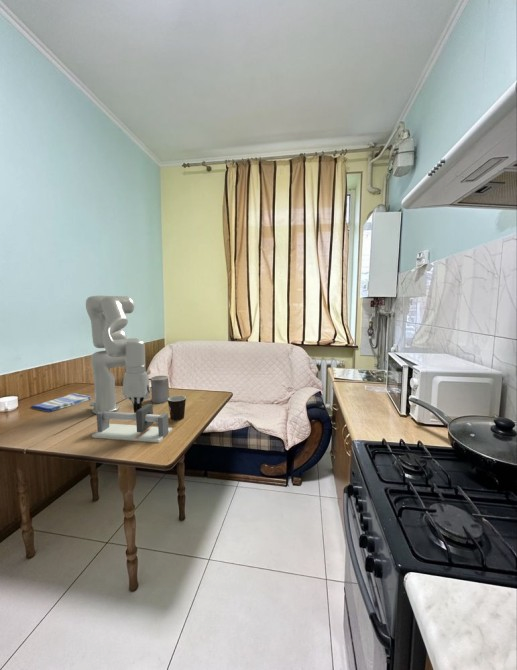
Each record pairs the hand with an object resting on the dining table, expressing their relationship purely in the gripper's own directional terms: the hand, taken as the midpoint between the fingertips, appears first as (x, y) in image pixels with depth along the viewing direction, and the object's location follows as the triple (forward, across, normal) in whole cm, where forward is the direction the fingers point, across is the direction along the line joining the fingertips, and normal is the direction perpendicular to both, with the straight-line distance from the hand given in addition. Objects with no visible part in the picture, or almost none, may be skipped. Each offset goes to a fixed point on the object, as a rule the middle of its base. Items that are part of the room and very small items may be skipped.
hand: (137, 411), depth 125 cm
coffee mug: (+10, +9, +18) cm, 23 cm away
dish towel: (+11, -64, +30) cm, 71 cm away
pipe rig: (+10, -3, 0) cm, 10 cm away
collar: (+7, +3, 0) cm, 8 cm away
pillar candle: (+10, -12, +43) cm, 46 cm away
